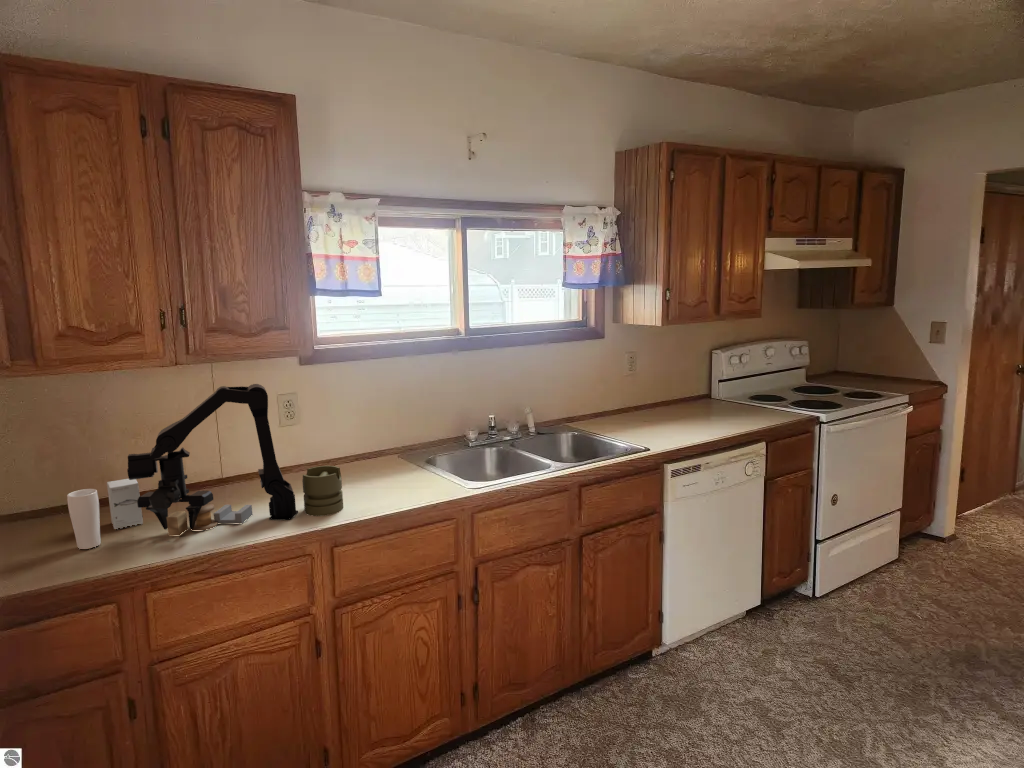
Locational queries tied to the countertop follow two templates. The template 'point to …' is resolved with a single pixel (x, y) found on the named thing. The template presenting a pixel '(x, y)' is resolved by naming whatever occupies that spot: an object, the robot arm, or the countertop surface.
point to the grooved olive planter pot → (322, 490)
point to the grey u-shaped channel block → (232, 514)
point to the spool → (205, 518)
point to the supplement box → (124, 503)
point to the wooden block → (177, 523)
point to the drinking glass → (85, 517)
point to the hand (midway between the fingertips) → (178, 528)
